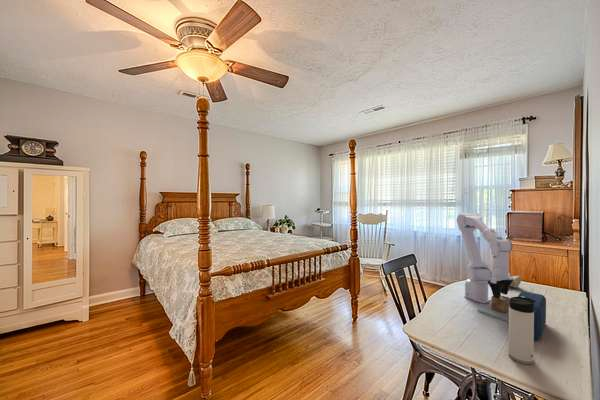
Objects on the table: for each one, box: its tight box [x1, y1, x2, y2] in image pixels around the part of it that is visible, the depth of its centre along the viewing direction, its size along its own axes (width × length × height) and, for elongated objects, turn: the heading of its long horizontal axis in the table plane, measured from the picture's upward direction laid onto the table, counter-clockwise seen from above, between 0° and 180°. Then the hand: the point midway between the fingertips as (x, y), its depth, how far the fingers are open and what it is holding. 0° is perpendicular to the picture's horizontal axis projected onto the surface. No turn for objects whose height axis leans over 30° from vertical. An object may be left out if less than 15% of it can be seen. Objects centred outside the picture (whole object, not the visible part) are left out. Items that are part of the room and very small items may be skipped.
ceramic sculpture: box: [510, 273, 523, 289], centre depth 150 cm, size 11×9×15 cm
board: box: [477, 302, 509, 323], centre depth 118 cm, size 12×14×1 cm
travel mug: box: [508, 296, 535, 365], centre depth 86 cm, size 6×7×20 cm
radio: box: [517, 290, 547, 341], centre depth 104 cm, size 21×9×20 cm, turn 132°
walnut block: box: [490, 295, 510, 314], centre depth 118 cm, size 5×5×6 cm
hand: (500, 295), depth 118 cm, fingers open, 7 cm apart
